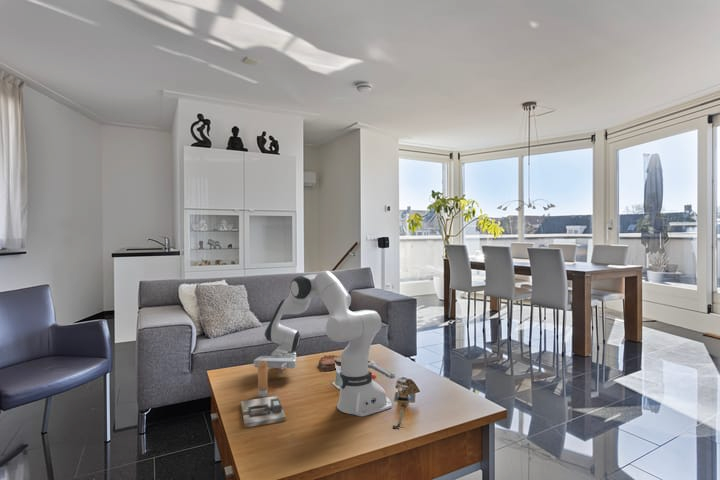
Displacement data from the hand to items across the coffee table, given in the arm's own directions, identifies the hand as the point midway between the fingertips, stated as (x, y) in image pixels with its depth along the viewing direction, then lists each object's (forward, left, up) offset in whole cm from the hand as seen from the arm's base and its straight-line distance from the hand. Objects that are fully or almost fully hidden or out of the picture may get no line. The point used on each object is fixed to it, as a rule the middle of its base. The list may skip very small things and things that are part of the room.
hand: (270, 367), depth 179 cm
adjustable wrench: (-55, -1, -9) cm, 56 cm away
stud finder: (+2, +28, -7) cm, 29 cm away
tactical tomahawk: (-44, +49, -9) cm, 67 cm away
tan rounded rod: (+5, +10, -8) cm, 14 cm away
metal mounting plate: (+7, +26, -8) cm, 28 cm away
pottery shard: (-34, -16, -9) cm, 39 cm away
